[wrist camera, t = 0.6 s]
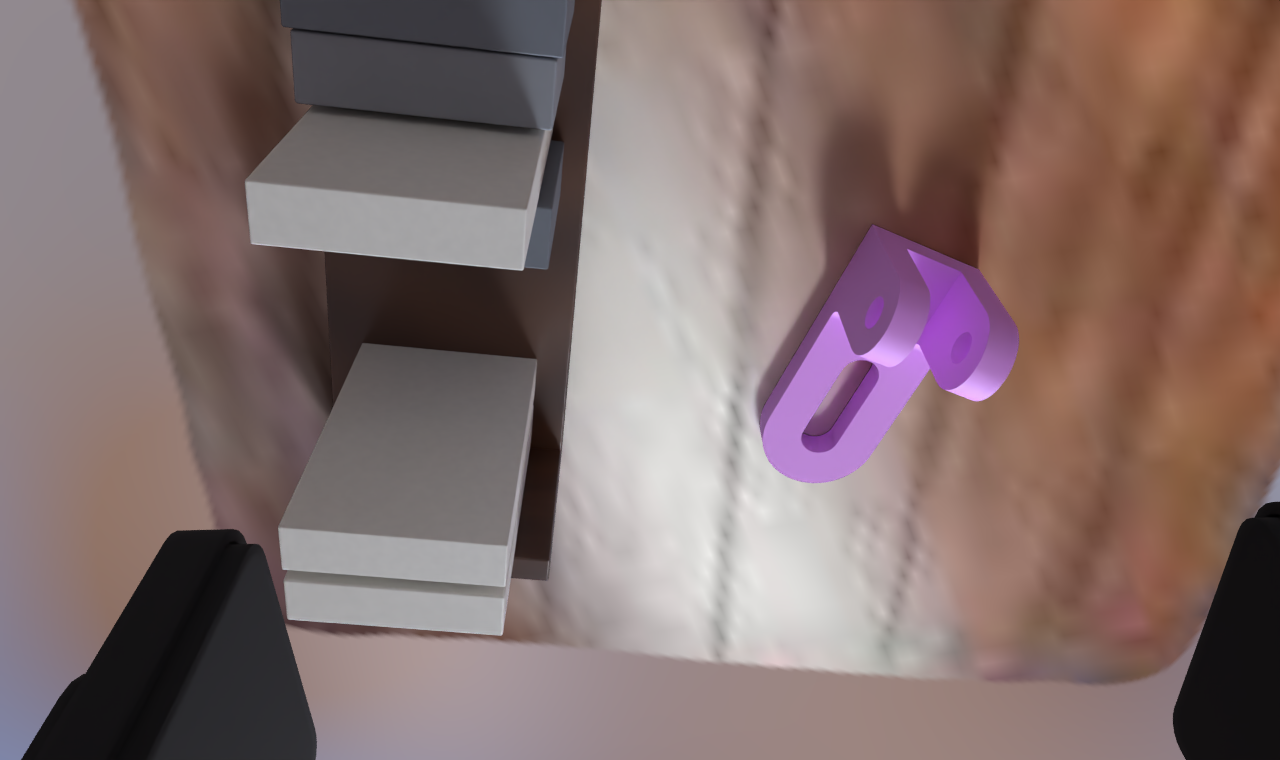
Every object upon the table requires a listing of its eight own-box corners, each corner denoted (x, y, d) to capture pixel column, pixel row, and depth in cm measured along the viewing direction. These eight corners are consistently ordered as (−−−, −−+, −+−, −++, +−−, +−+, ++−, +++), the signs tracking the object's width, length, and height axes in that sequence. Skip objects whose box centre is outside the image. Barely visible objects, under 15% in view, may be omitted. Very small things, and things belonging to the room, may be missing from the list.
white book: (351, 60, 40) (243, 179, 29) (556, 83, 40) (527, 208, 29) (354, 111, 41) (250, 244, 30) (552, 132, 41) (523, 271, 30)
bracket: (872, 224, 45) (908, 295, 39) (978, 269, 46) (1030, 346, 40) (740, 444, 51) (754, 535, 45) (837, 479, 52) (863, 572, 46)
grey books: (332, -85, 37) (273, -53, 31) (578, -56, 38) (568, -18, 31) (343, 173, 42) (294, 245, 36) (560, 196, 43) (548, 270, 37)
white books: (362, 342, 46) (277, 526, 35) (537, 358, 47) (507, 545, 36) (365, 423, 49) (286, 620, 38) (531, 438, 49) (502, 636, 38)
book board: (311, -146, 37) (224, -119, 29) (611, -109, 38) (605, -73, 30) (341, 435, 51) (287, 561, 43) (561, 455, 51) (548, 581, 43)
